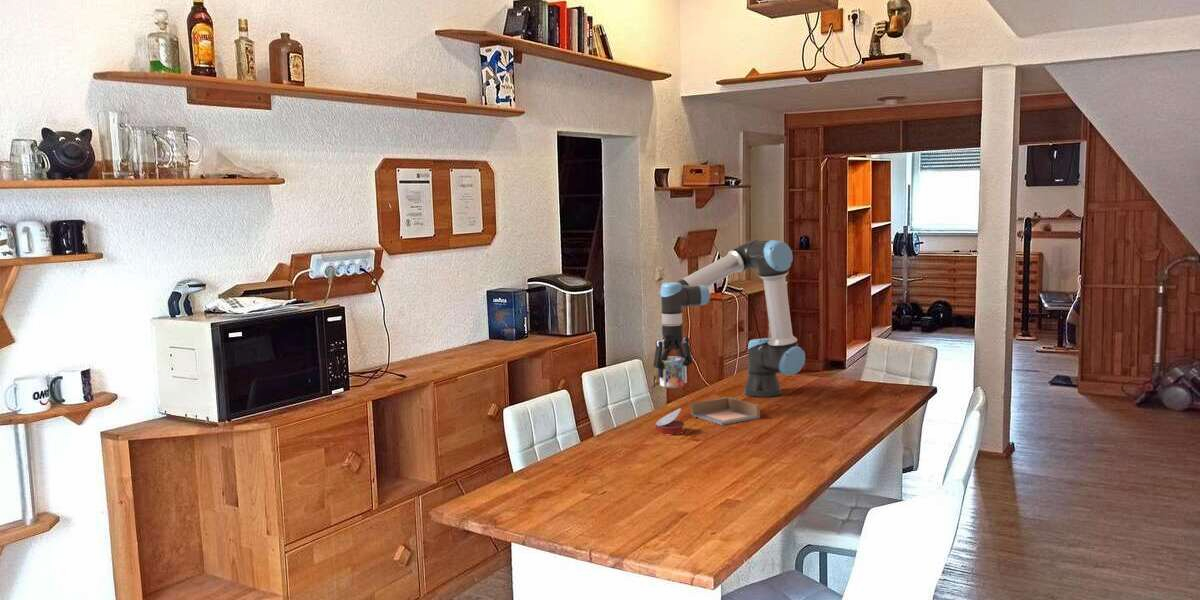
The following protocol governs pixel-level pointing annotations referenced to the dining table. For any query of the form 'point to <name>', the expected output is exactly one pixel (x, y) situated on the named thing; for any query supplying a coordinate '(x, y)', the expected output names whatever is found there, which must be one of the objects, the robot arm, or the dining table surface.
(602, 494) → the dining table surface
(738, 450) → the dining table surface
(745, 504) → the dining table surface
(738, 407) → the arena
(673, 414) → the canned food
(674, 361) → the mug
